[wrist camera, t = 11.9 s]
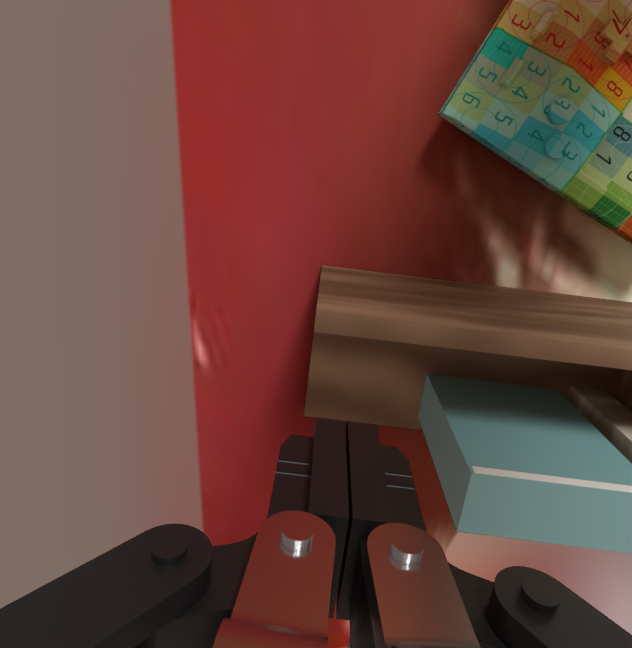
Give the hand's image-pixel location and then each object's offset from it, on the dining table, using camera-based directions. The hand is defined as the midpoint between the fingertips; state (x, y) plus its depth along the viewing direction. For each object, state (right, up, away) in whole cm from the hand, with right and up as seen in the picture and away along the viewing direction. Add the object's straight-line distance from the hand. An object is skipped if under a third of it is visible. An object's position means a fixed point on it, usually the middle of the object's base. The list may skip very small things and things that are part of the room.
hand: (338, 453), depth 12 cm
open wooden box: (+12, 0, +30) cm, 32 cm away
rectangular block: (+14, -4, +29) cm, 33 cm away
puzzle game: (+20, +18, +24) cm, 36 cm away
